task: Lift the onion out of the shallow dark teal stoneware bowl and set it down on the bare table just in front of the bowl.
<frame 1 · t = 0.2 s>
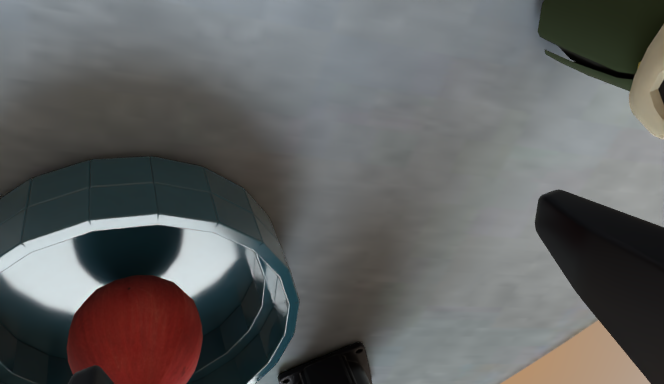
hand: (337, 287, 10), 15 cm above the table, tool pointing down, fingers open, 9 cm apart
onion: (132, 279, 27), resting on bowl
bowl: (132, 276, 27), on the table
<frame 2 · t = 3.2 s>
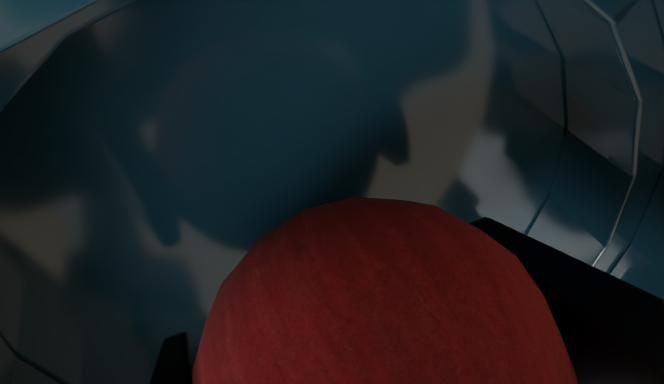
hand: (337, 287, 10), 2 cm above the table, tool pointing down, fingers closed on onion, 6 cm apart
onion: (307, 226, 11), resting on bowl, touching gripper
bowl: (304, 221, 12), on the table
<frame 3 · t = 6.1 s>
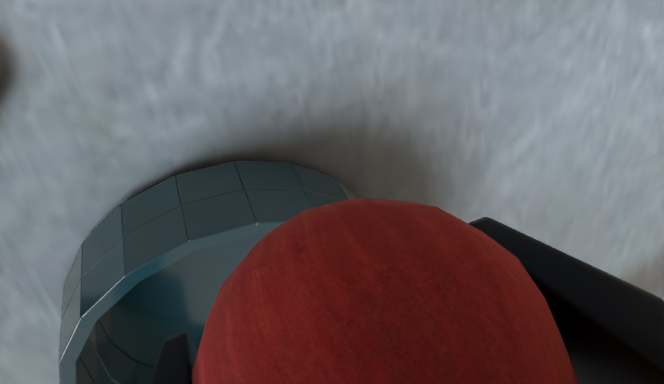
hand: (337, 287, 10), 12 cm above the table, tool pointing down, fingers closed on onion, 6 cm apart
onion: (307, 227, 11), point 10 cm above the table, touching gripper
bowl: (234, 284, 26), on the table
when the fingers open (2 cm above the table, at t = 9.2 s): onion stays where it is, on the table.
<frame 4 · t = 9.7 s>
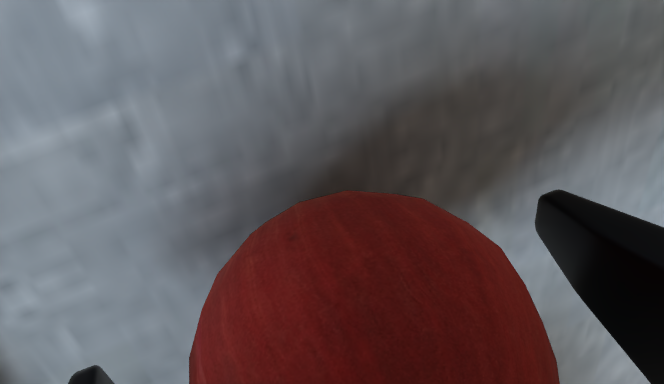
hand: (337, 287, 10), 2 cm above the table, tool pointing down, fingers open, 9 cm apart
onion: (302, 221, 12), on the table
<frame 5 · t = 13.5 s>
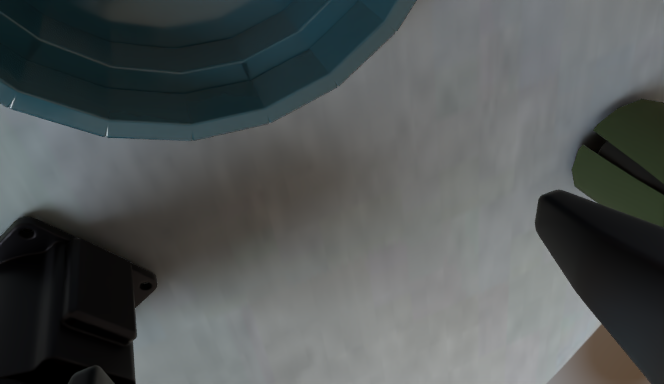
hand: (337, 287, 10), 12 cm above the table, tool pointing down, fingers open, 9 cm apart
character mug: (609, 141, 30), on the table
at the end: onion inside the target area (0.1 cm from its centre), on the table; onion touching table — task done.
